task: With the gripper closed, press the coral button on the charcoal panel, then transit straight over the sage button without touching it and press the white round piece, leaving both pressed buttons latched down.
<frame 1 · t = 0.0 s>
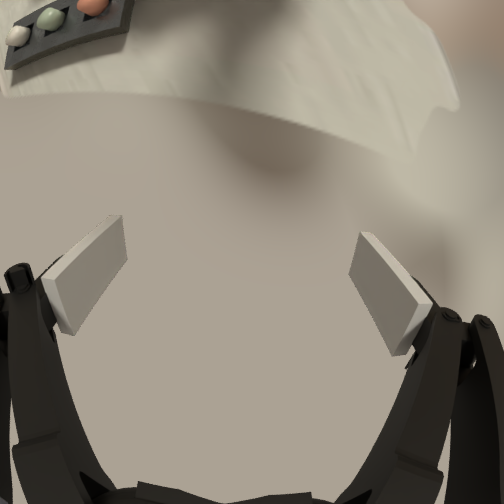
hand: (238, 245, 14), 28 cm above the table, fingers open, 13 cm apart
panel: (66, 25, 25), on the table
white round piece: (18, 36, 20), point 5 cm above the table, slide at 0.0 cm
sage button: (50, 19, 21), point 5 cm above the table, slide at 0.0 cm
coral button: (93, 3, 21), point 5 cm above the table, slide at 0.0 cm
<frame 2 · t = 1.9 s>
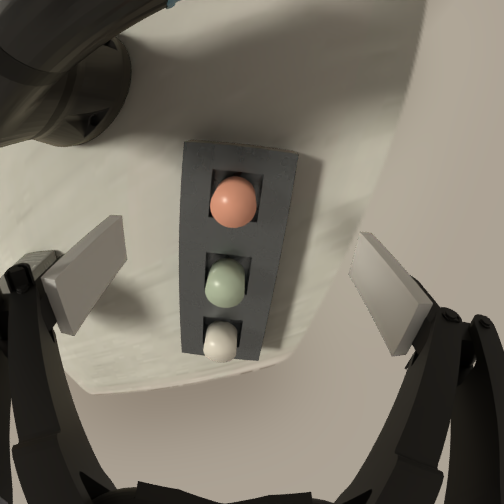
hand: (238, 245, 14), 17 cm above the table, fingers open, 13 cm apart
panel: (229, 259, 34), on the table
white round piece: (220, 341, 33), point 5 cm above the table, slide at 0.0 cm
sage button: (225, 282, 29), point 5 cm above the table, slide at 0.0 cm
coral button: (234, 200, 25), point 5 cm above the table, slide at 0.0 cm
skincare box: (46, 269, 35), on the table
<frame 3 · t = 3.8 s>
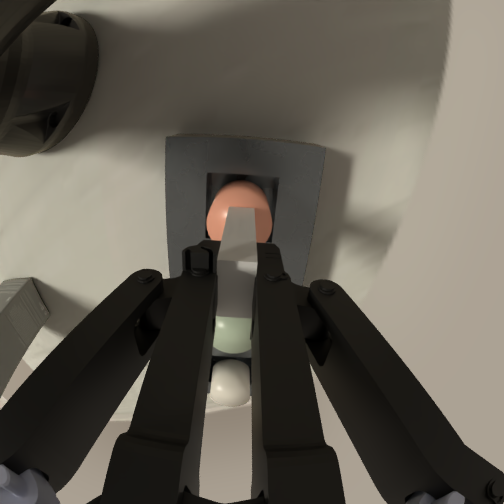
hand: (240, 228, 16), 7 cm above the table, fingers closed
panel: (235, 286, 27), on the table
white round piece: (230, 383, 26), point 5 cm above the table, slide at 0.0 cm
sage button: (233, 321, 22), point 5 cm above the table, slide at 0.0 cm
coral button: (240, 214, 18), point 5 cm above the table, slide at 0.4 cm, touching gripper
skincare box: (27, 298, 28), on the table
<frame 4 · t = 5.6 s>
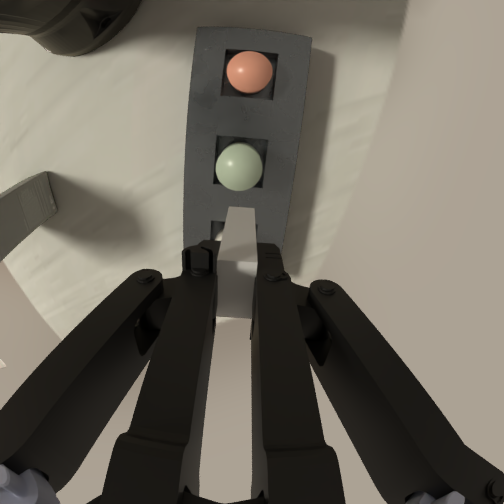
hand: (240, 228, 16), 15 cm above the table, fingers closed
panel: (240, 156, 29), on the table
white round piece: (232, 250, 29), point 5 cm above the table, slide at 0.0 cm
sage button: (239, 165, 24), point 5 cm above the table, slide at 0.0 cm
coral button: (249, 73, 22), point 3 cm above the table, slide at 1.8 cm
skincare box: (36, 198, 30), on the table
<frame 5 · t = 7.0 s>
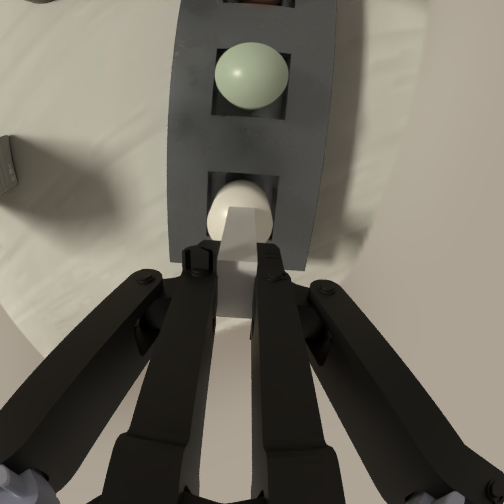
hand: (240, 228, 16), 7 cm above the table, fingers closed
panel: (250, 88, 19), on the table
white round piece: (240, 214, 18), point 5 cm above the table, slide at 0.0 cm, touching gripper
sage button: (251, 78, 14), point 5 cm above the table, slide at 0.0 cm
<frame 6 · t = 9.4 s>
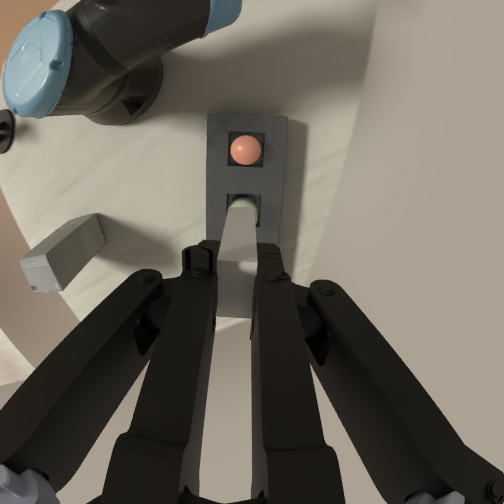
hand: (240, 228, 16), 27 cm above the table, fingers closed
panel: (244, 204, 43), on the table
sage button: (242, 214, 38), point 5 cm above the table, slide at 0.0 cm
coral button: (246, 149, 36), point 3 cm above the table, slide at 1.8 cm
figurine: (2, 131, 34), on the table
skincare box: (86, 233, 45), on the table
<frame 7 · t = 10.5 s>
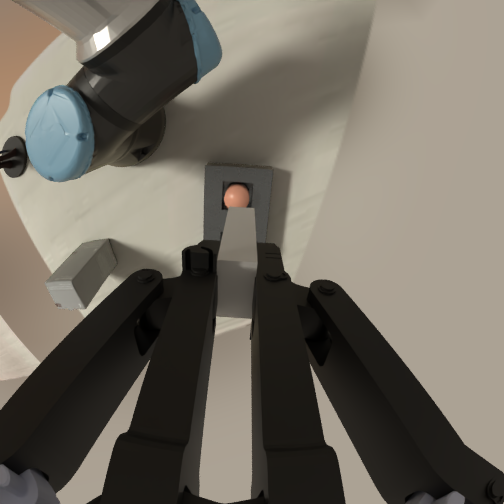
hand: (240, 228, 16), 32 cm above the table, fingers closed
panel: (234, 237, 52), on the table
coral button: (237, 196, 45), point 3 cm above the table, slide at 1.8 cm
figurine: (15, 156, 42), on the table
skincare box: (99, 254, 54), on the table
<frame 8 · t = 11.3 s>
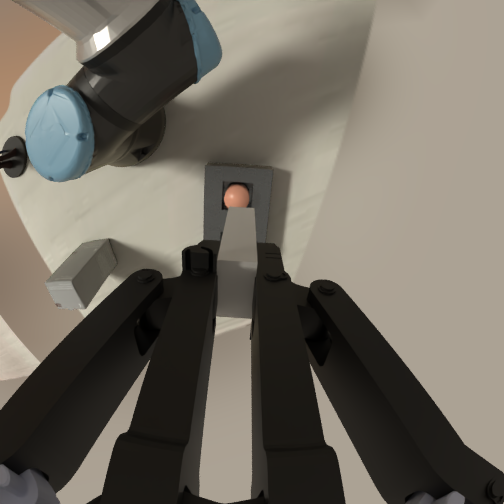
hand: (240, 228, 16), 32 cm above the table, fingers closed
panel: (234, 237, 52), on the table
coral button: (237, 196, 45), point 3 cm above the table, slide at 1.8 cm
figurine: (15, 156, 42), on the table
skincare box: (99, 254, 54), on the table
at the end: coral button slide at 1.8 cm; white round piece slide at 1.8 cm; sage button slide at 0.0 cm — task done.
